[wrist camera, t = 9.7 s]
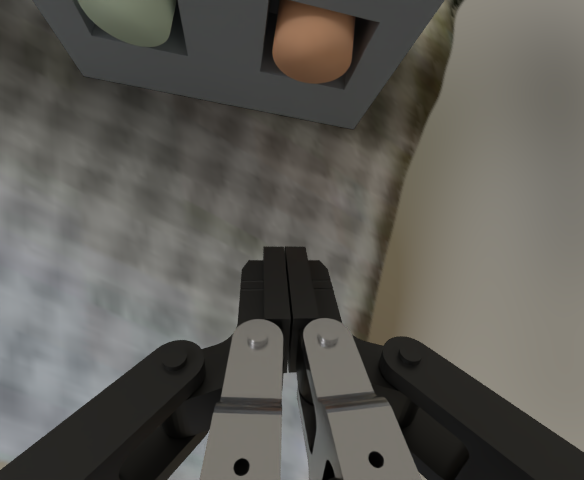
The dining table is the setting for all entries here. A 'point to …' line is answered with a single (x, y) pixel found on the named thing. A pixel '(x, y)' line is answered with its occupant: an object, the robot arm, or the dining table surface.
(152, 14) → the sage button
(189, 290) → the dining table surface
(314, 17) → the terracotta button
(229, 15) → the block
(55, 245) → the dining table surface
